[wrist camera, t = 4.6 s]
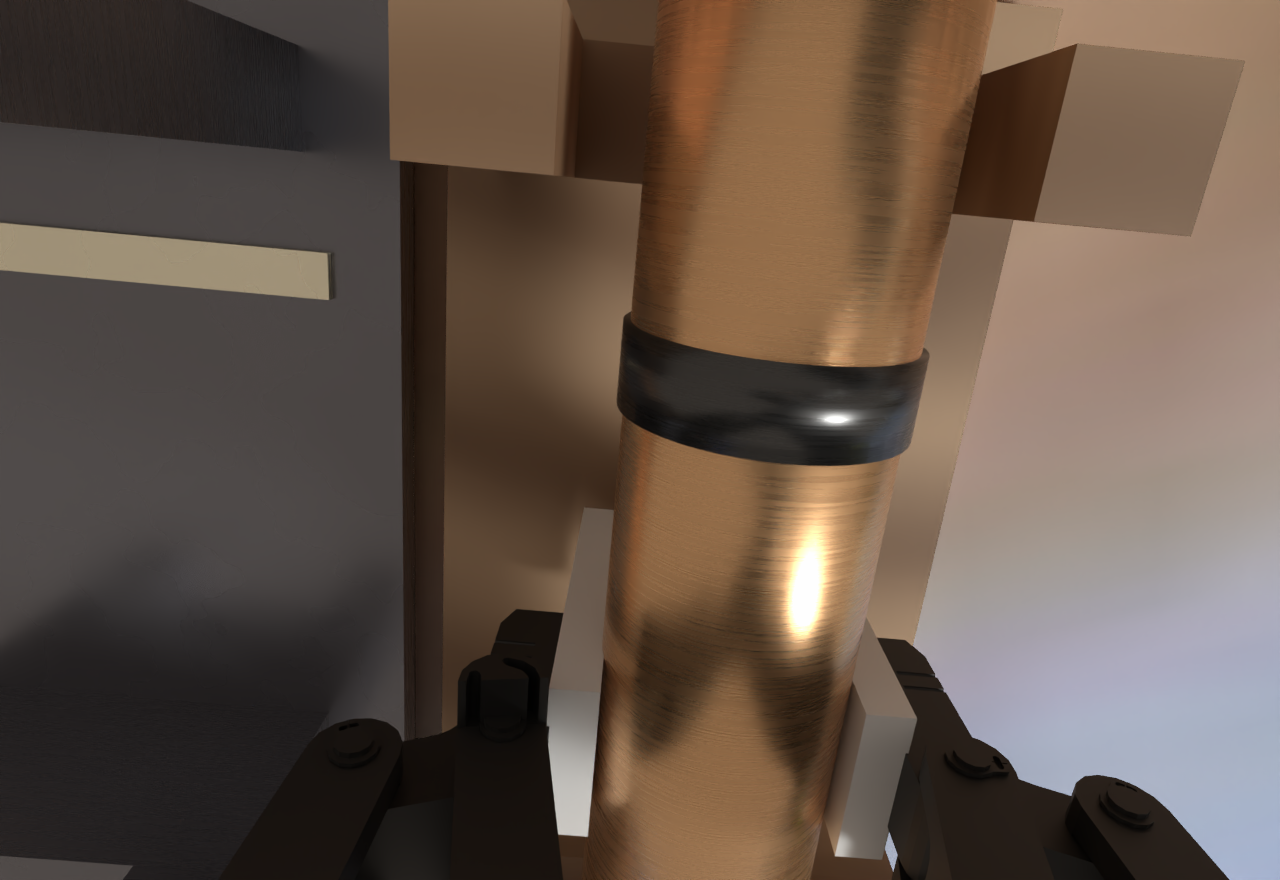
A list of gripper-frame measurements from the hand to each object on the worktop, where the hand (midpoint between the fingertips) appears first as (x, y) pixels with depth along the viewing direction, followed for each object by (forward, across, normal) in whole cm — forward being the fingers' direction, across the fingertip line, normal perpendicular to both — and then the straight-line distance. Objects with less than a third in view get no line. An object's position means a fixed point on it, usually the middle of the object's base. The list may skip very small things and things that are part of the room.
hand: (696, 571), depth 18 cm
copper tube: (-3, 0, +2) cm, 4 cm away
